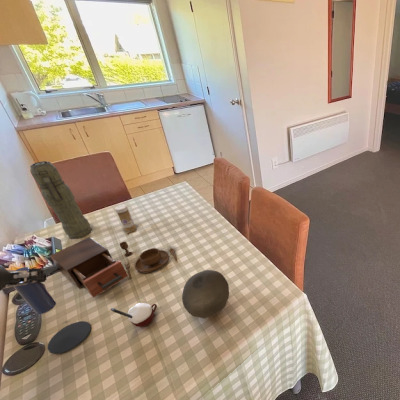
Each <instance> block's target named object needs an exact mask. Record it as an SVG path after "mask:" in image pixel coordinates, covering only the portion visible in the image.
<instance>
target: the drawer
mask: <svg viewBox="0 0 400 400" xmlns="http://www.w3.org/2000/svg"><path fill="white" fill-rule="evenodd" d="M111 257H112V256H111ZM111 257H109V256H108V255H106V254H105V253H103V254H101V255H99V256H97V257H95V258H94V259H92V260H90V261H88V262H86V263H84V264H82V265H80V266H78V267H76V268H75V269H73V270H71V271H72V272H73V274H74V275H75V277H76V278H77V280H78V281H79V282H80V283H81V284H83V285H84V286H83V287H84V288H86V290H87V291H88V293H89V294H90V295H91V297H92V298H96V297H97V296H98V295H100V294H102V293H103V292H105V291H106V290H108V289H110V288H112V287H114V286H115V285H116V284H118V283H120V282H121V281H123V280H124V279H126V278H128V277H129V274H128V272H127V271H126V268H125V266H124V265H123V263H122V261H120V260H118V261H116V260H115V259H114V258H113V257H112V258H111Z"/></svg>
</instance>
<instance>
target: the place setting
mask: <svg viewBox="0 0 400 400" xmlns="http://www.w3.org/2000/svg"><path fill="white" fill-rule="evenodd" d="M119 247H120V248H121V250H122V251H123V250H124V251H125V253H124V257H130V256H132V255H133V252H132V251H129V245H128V243H127V241H122V242H120V243H119ZM168 251H169V252H168ZM168 251H166V250H163V249H158V248H155V247H153V248H148V249H145V250H144V251H142V252H141V253H140V255H139V257H138V259H136V261H135V262H134V268H135V270H136V271H138V272H140V273H145V274H147V273H151V272H152V273H153V272H155V271H157V270H159V269H161V268H163V267H164V266H165V265H166V264H167V263H168V262H169V259H170V254H172V256H173V259H174V260H175V261H176V262H177V261H178V257H177V256H176V255H175V249H174V248H170V249H169V250H168ZM169 253H170V254H169ZM124 268H125V270H127V275H128V277H129V279H132V275H131V271H130V268H131V265H130V263H129V262H127V263H126V264H124Z"/></svg>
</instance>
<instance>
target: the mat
mask: <svg viewBox="0 0 400 400" xmlns="http://www.w3.org/2000/svg"><path fill="white" fill-rule="evenodd" d="M91 332H92V325H91V324H90V323H89V322H88V321H86V320H85V321H84V320H81V321H79V320H78V321H75V322H73V323H70V324H68V325H66V326H64V327H63V328H61V329H59V330H58V331H57V332H56V333H55V334H54V335H53V336H52V337H51V338H50V339H49V342H48V343H47V350H48V352H49V353H51V354H53V355H61V354H64V353H68V352H70V351H71V350H73V349H75V348H77V347H79V346H80V345H81V344H82V343H83V342H84V341H86V340H87V338H88V337H89V335H90V334H91Z"/></svg>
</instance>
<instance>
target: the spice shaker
mask: <svg viewBox="0 0 400 400" xmlns="http://www.w3.org/2000/svg"><path fill="white" fill-rule="evenodd" d="M29 269H31V268H30V267H28V266H24V267H20V268H16V269H15V270H14V271H25V270H26V271H27V272H28V270H29ZM27 280H28V278H27ZM18 283H19V282H18ZM13 287H14V289H15V291H16V292H17V293H18V294H19V295H20V297H21V298H22V299H24V301H25V302H26V303H27V305H28V306H29V307H30V308H31V309H32V311H33V312H34V313H35V314H37V315H43V314H46V313H48V312H49V311H52V310H53V309H54V308H55V307H56V305H57V302H56V300H55V299H54V297H53V296H52V295H51V294H50V292H49V291H48V290H47V289H46V287H45V286H44V285H43V284H42V282H41V283H27V284H26V285H22V286H13Z"/></svg>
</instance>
